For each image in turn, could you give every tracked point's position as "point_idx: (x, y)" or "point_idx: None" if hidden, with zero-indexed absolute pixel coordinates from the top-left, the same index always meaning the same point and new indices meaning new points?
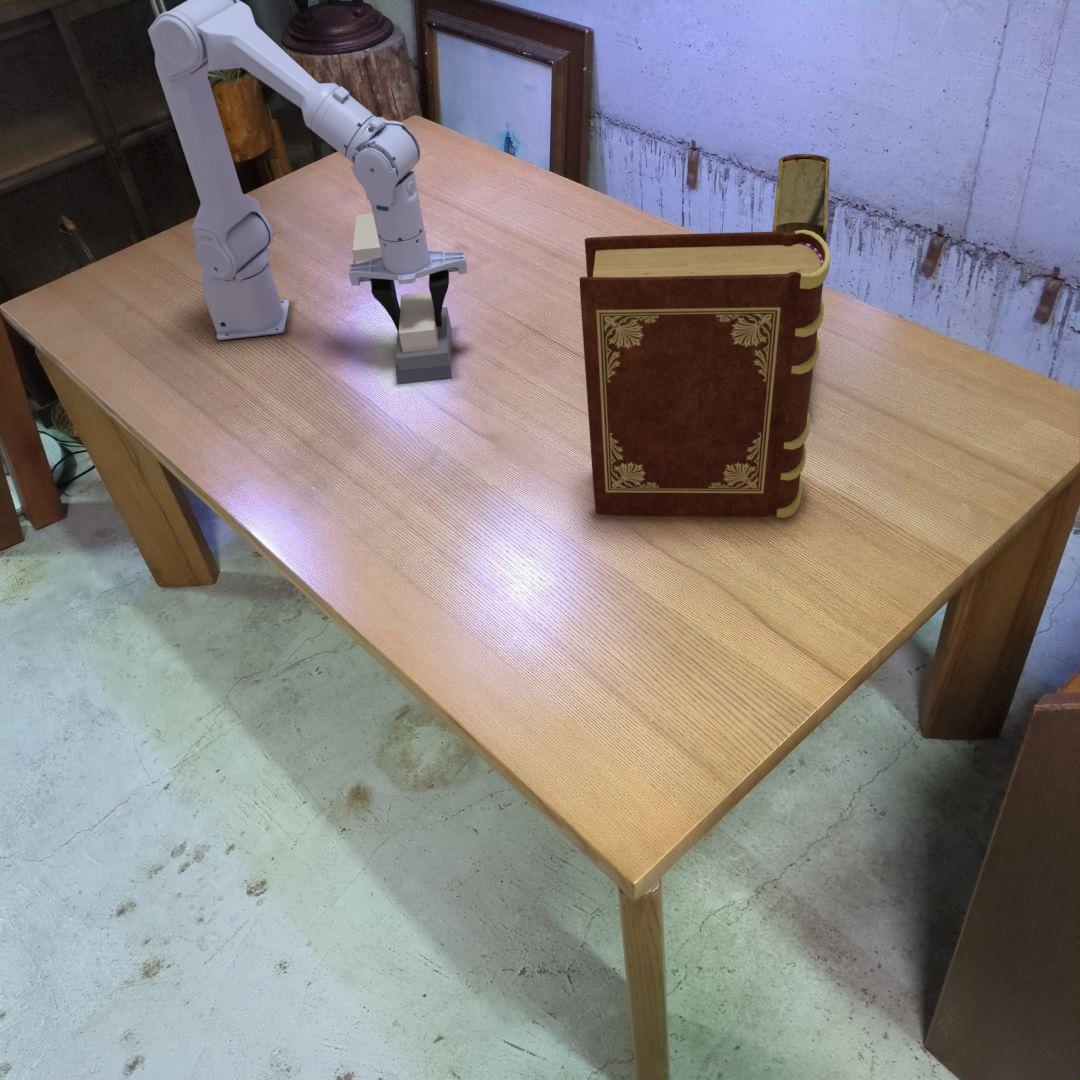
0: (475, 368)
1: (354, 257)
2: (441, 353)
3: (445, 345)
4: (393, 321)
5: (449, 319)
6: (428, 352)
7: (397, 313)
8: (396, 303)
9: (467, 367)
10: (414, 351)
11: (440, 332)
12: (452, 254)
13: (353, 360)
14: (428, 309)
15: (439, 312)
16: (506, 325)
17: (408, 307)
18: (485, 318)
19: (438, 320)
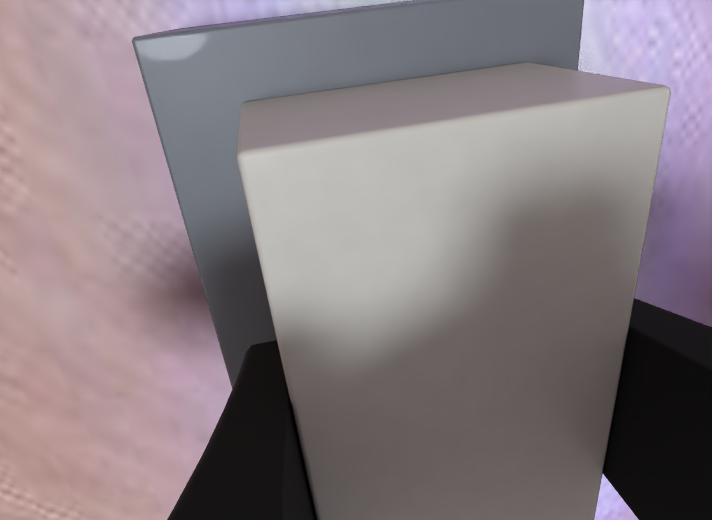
0: (43, 131)
1: None
2: (189, 32)
3: (181, 155)
4: (671, 313)
5: None
6: (315, 52)
7: (679, 381)
8: (702, 499)
9: (101, 143)
10: (437, 75)
11: (265, 318)
12: None
13: (688, 211)
14: (365, 480)
15: (224, 441)
16: (5, 475)
17: (539, 483)
18: (132, 503)
19: (257, 375)
